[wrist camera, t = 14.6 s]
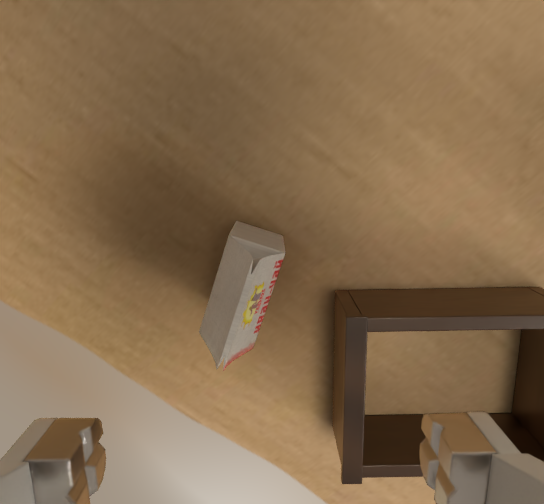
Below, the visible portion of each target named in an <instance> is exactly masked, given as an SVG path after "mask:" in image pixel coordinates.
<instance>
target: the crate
mask: <svg viewBox="0 0 544 504" xmlns="http://www.w3.org/2000/svg"><path fill="white" fill-rule="evenodd" d="M512 329H522V333H521V341H520V350H519V358H518V367H517V375H516V383H515V392H514V400H513V409H512V413H496V414H489V416H490V417H491V418H492V419H493V420H494V421H495V423H496V424H497V425H498V426H499V427H500V429H501V430H502V431H503V432H504V433H505V435H506V436H507V437H508V438H509V439H510V440H511V442H512V443H513V444H514V445H515V446H516V448H517V449H518V450H519V451H520V452H521V454H530V455H532V456H534V457H535V458H537V459H539V460H541V461H543V462H544V289H542V288H540V287H508V288H445V289H382V290H348V291H347V290H335V305H334V363H333V421H332V426H333V431H334V435H335V439H336V444H337V448H338V452H339V457H340V461H341V481H342V484H362V478H364V477H423V473H422V470H421V465H420V457H419V452H420V443H421V442H422V441H423V440H424V438H425V437H426V436H425V435H424V433H423V431H422V429H421V425H422V418H423V415H372V416H364V411H365V383H366V355H367V332H386V331H449V330H512Z"/></svg>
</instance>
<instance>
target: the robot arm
mask: <svg viewBox="0 0 544 504" xmlns="http://www.w3.org/2000/svg"><path fill="white" fill-rule="evenodd" d="M421 429H422V431H423V433H424V435H425V436H426V437H425V438H424V440H423V441H422V442H421V443H420V452H419V457H420V465H421V470H422V473H423V477H424V479H425V481H426V483H427V485H428V486H430V487H431V488H432V489H434V490H435V496H434V500H435V502H436V504H544V462H543V461H541V460H539V459H537V458H535V457H534V456H532V455H530V454H521V452H520V451H519V450H518V449H517V448H516V446H515V445H514V444H513V443H512V442H511V440H510V439H509V438H508V437H507V436H506V435H505V433H504V432H503V431H502V430H501V429H500V427H499V426H498V425H497V424H496V423H495V421H494V420H493V419H492V418H491V417H490V416H489V414H488V413H486V412H484V411H476V412H463V413H434V414H424V415H423V418H422V425H421ZM102 434H103V429H102V423H101V421H100V420H99V419H98V418H39V419H36V420H34V421H33V422H32V424H31V425H30V426H29V427H28V428H27V430H26V431H25V432H24V433H23V434H22V435H21V437H20V438H19V439H18V440H17V441H16V442H15V443H14V445H13V446H12V447H11V448H10V449H9V450H8V451H7V453H6V454H5V455H4V456H3V457H2V458H1V460H0V504H90V498H89V496H91V495H92V494H93V493H95V492H96V491H97V490H98V489H99V487H100V484H101V482H102V480H103V476H104V471H105V465H106V454H105V449H104V447H103V446H102V445H101V444H100V443H99V440H100V438H101V436H102Z"/></svg>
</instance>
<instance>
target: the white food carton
mask: <svg viewBox="0 0 544 504" xmlns="http://www.w3.org/2000/svg"><path fill="white" fill-rule="evenodd" d="M285 253H286V252H285V246H284V239H283V235H280V234H277V233H274V232H270V231H267V230H264V229H261V228H258V227H255V226H252V225H249V224H245V223H242V222H239V221H236V222H235V224H234V226H233V228H232V230H231V232H230V234H229V236H228V239H227V243H226V246H225V249H224V252H223V256H222V259H221V262H220V265H219V269H218V272H217V275H216V278H215V282H214V285H213V288H212V291H211V295H210V298H209V301H208V304H207V308H206V311H205V314H204V317H203V321H202V324H201V327H200V330H199V333H200V334H201V336H202V338H203V340H204V341H205V343H206V345H207V346H208V348H209V350H210V352H211V354H212V356H213V358H214V360H215V362H216V368H217V369H218V367H219V365H220V363H221V362H222V360H223V358H224V366H223V371H224V369H225V368H226V366H227V365H229V364H230V363H231V362H232V361H233V360H235V359H236V358H238V357H239V356H241V355H243V354H244V353H246V352H248V351H249V350H251V349H252V348H253V347H254V344H255V341H256V338H257V335H258V332H259V329H260V326H261V323H262V320H263V317H264V314H265V312H266V309H267V306H268V303H269V300H270V297H271V294H272V291H273V288H274V285H275V282H276V279H277V276H278V273H279V270H280V267H281V265H282V262H283V259H284V256H285ZM224 356H225V357H224Z"/></svg>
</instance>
